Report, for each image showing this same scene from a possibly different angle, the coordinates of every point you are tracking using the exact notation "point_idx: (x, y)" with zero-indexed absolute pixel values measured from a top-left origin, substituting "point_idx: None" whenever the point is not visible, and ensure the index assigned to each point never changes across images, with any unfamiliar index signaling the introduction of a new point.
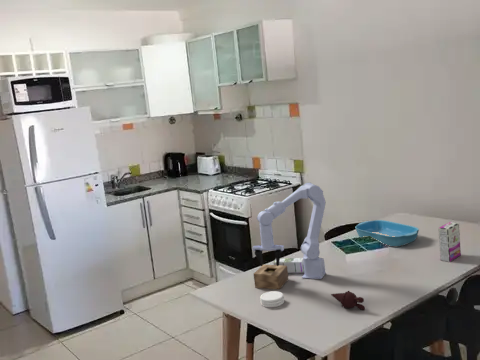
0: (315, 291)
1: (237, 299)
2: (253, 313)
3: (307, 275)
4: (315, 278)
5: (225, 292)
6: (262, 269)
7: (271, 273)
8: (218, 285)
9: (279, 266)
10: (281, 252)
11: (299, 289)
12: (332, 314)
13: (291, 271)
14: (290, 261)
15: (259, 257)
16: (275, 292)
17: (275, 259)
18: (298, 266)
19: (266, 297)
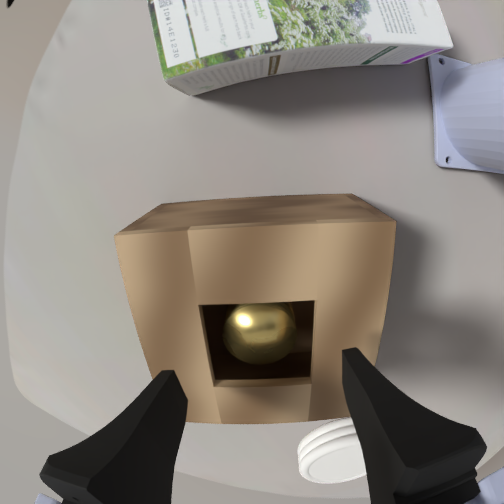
0: (496, 319)
1: (189, 444)
2: (301, 485)
3: (472, 160)
4: (499, 172)
5: (97, 400)
6: (182, 354)
7: (304, 406)
8: (23, 339)
9: (323, 258)
10: (452, 425)
11: (441, 322)
12: (501, 417)
13: (332, 66)
14: (350, 29)
15: (164, 488)
16: (357, 447)
17: (152, 6)
18: (405, 54)
19: (330, 475)
